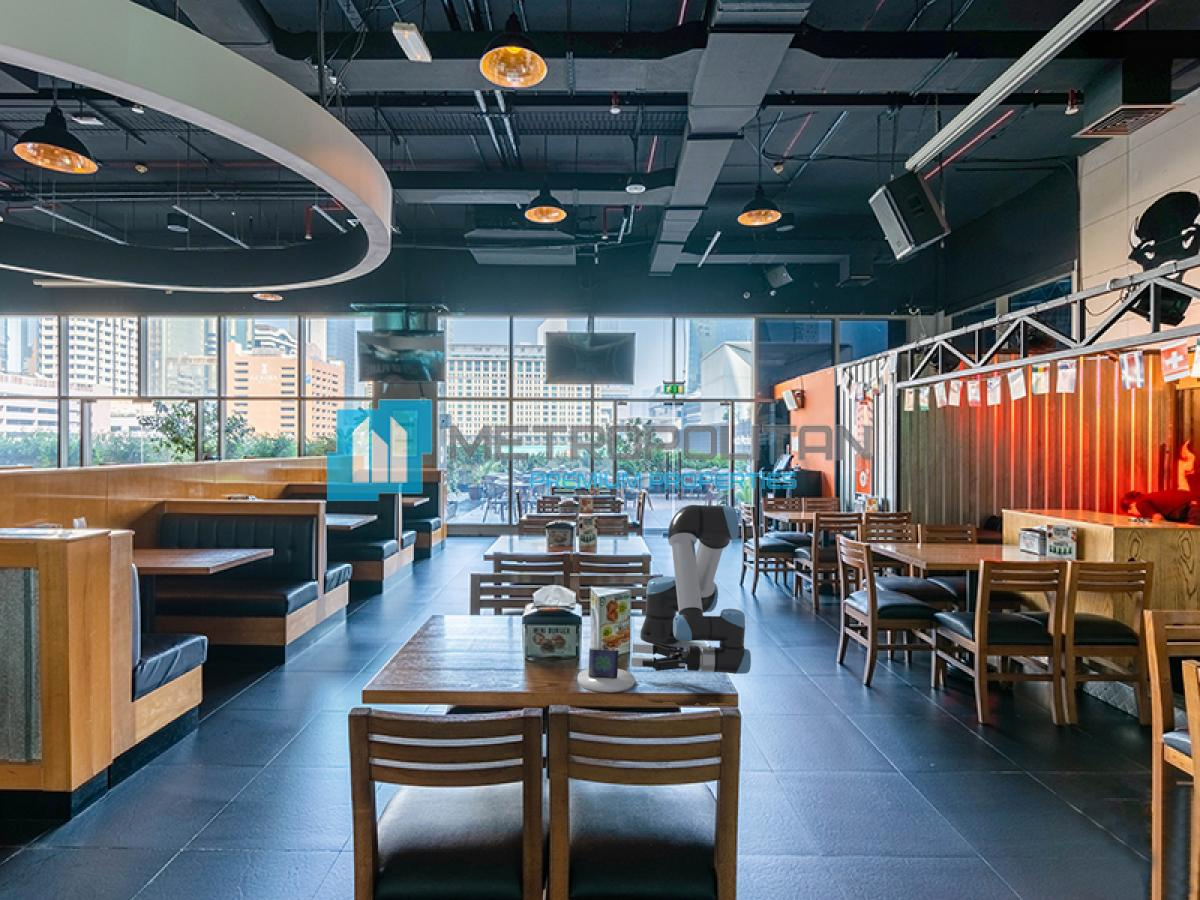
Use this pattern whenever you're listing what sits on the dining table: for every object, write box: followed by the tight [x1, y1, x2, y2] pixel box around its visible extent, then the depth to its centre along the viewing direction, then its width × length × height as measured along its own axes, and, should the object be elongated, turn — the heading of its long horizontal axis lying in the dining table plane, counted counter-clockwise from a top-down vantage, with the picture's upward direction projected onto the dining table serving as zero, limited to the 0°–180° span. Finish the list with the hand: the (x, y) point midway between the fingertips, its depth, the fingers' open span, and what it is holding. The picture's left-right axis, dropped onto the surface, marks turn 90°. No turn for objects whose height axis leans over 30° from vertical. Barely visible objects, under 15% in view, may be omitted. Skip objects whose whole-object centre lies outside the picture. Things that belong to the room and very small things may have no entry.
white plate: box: [577, 668, 635, 693], centre depth 219 cm, size 18×18×2 cm
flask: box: [588, 642, 619, 679], centre depth 219 cm, size 9×3×11 cm, turn 87°
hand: (631, 654), depth 218 cm, fingers open, 13 cm apart
